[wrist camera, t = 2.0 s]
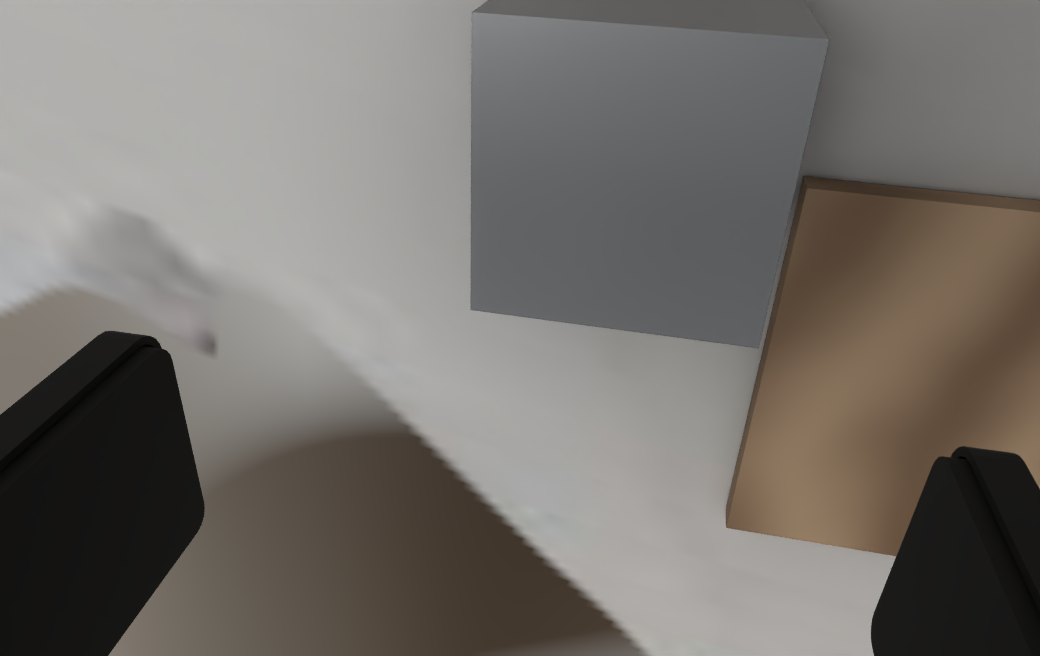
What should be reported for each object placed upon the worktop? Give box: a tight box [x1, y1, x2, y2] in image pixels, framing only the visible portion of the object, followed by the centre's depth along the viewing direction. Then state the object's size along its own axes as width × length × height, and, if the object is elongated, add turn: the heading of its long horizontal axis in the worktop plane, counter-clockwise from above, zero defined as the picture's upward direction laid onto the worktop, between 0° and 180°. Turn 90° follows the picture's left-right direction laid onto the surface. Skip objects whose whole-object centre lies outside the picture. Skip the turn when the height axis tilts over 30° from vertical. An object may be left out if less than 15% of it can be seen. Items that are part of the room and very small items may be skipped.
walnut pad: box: [726, 177, 1040, 556], centre depth 27 cm, size 14×14×1 cm
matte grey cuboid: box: [471, 0, 830, 348], centre depth 21 cm, size 7×7×8 cm
